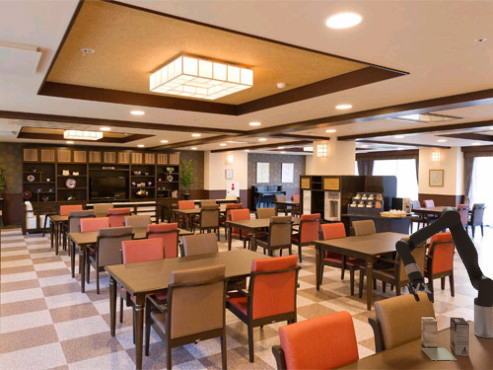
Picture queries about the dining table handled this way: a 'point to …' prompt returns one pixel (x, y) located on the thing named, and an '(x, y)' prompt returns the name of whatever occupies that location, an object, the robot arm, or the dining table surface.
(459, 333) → the coffee box
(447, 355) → the mat
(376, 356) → the dining table surface
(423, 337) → the maple block
